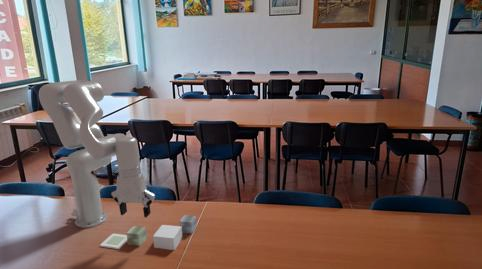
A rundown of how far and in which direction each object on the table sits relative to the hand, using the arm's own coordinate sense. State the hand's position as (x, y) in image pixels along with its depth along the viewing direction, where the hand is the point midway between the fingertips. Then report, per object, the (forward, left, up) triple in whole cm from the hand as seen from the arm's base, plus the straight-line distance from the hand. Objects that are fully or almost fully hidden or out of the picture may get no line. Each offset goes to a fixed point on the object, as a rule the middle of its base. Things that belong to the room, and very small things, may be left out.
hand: (135, 214), depth 122 cm
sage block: (-1, 0, -12) cm, 12 cm away
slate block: (+15, +12, -12) cm, 23 cm away
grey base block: (+11, +2, -12) cm, 17 cm away
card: (-9, -2, -12) cm, 15 cm away
